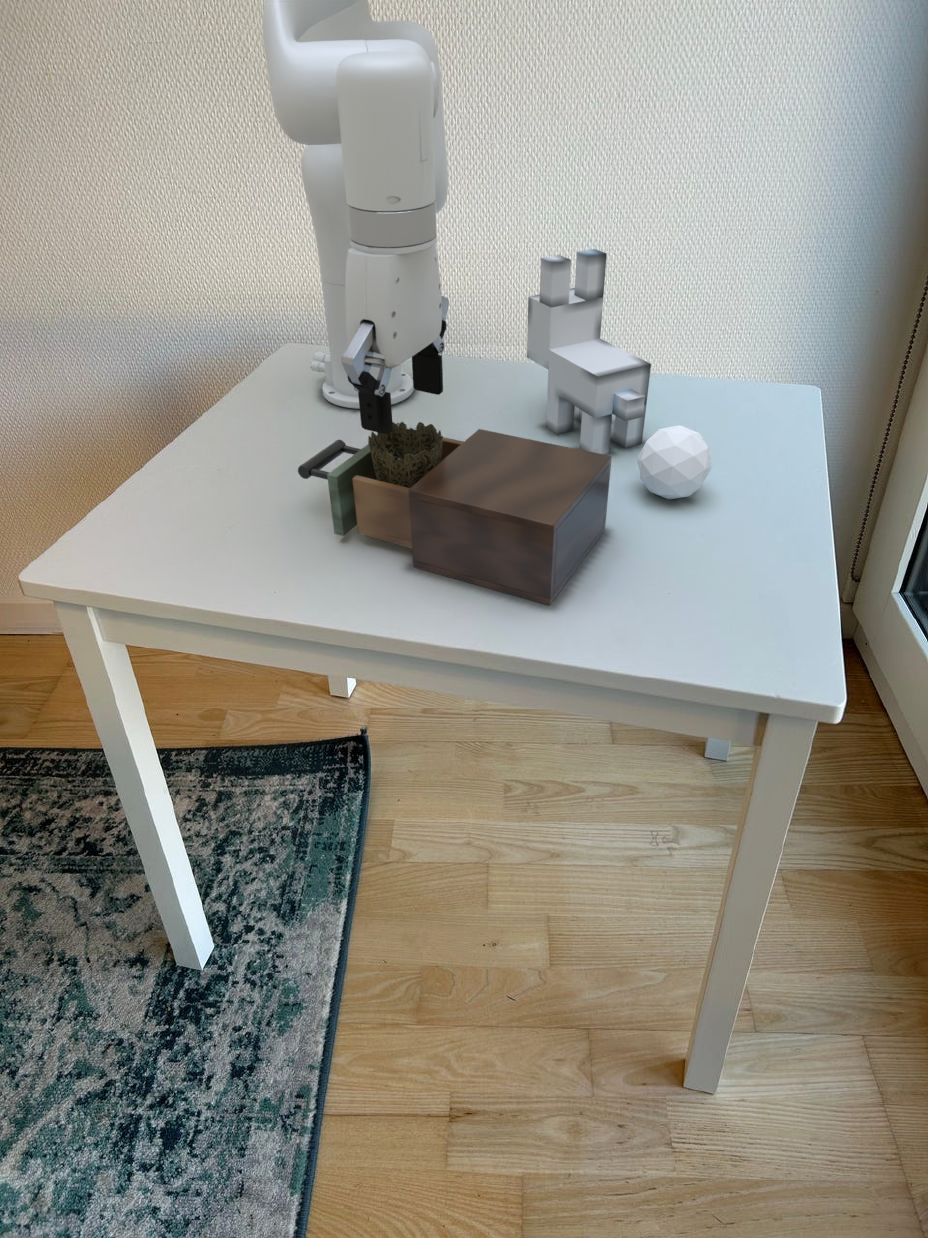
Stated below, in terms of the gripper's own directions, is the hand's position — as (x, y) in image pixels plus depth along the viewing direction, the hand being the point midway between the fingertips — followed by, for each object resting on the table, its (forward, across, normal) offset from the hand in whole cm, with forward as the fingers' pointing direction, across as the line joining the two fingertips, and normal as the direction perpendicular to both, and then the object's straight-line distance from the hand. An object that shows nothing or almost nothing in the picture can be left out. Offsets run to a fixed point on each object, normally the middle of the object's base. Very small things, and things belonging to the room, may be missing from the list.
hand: (403, 410), depth 84 cm
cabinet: (+12, +1, +12) cm, 17 cm away
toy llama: (+13, -28, +9) cm, 33 cm away
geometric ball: (+13, -17, +23) cm, 32 cm away
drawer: (+11, +1, -1) cm, 12 cm away
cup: (+11, +1, 0) cm, 11 cm away
